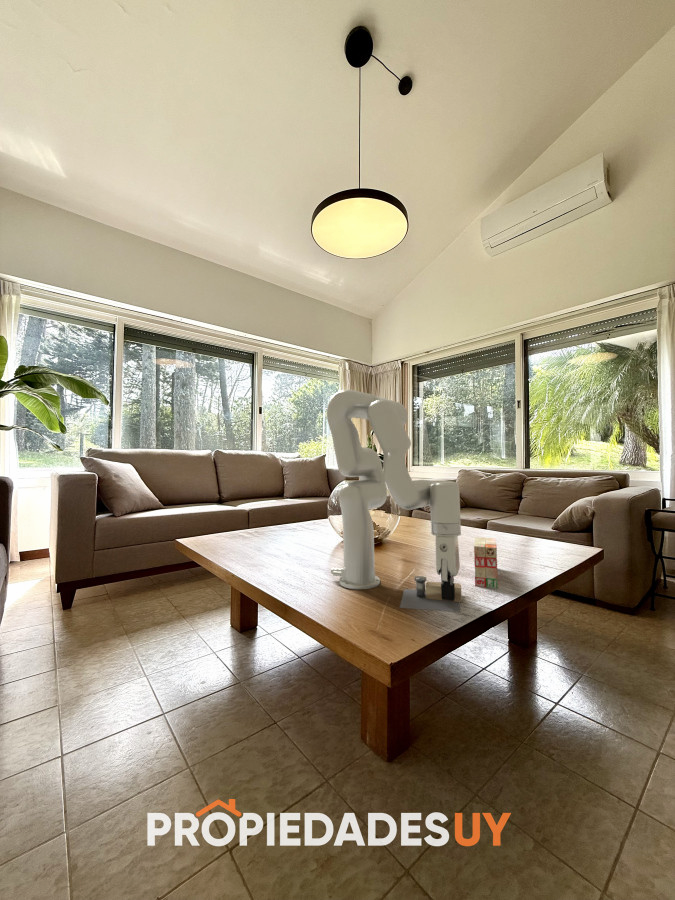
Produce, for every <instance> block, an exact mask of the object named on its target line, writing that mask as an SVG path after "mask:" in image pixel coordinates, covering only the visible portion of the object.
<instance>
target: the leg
mask: <svg viewBox="0 0 675 900" xmlns="http://www.w3.org/2000/svg"><path fill="white" fill-rule="evenodd" d="M437 582H438V581H426V582H425V590H426V598H427V599H436V600H443V599H442V596H441V583H437ZM462 598H463V597H462V584H460V585H459V584H455V599H454V602H459V603H462ZM445 601H450V600H445Z"/></svg>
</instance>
